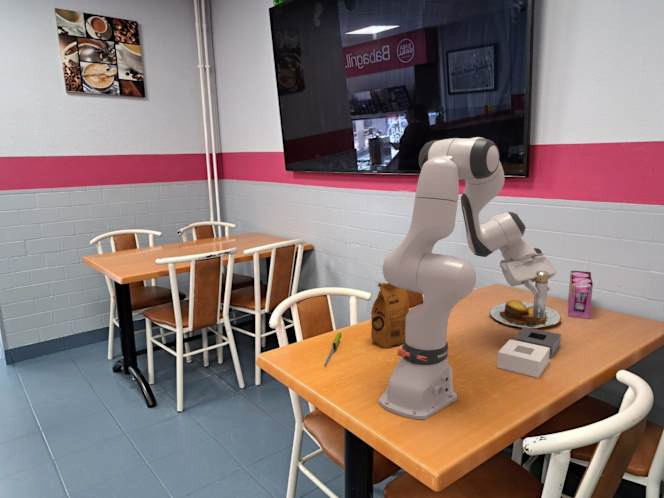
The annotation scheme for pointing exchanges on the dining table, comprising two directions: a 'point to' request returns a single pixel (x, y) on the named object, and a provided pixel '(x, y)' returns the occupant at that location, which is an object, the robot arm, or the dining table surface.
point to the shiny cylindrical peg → (540, 294)
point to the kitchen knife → (333, 347)
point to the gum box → (580, 294)
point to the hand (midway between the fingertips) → (542, 292)
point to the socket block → (539, 338)
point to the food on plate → (523, 315)
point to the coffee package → (389, 316)
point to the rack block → (523, 358)
